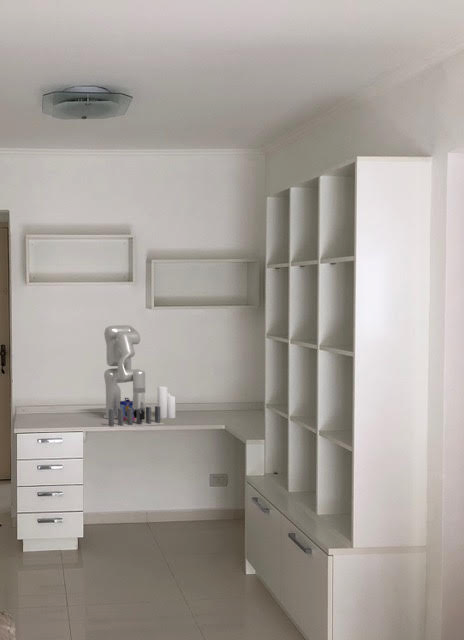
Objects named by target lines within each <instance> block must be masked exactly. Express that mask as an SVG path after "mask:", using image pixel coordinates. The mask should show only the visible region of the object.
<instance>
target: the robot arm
mask: <svg viewBox="0 0 464 640" xmlns="http://www.w3.org/2000/svg"><path fill="white" fill-rule="evenodd" d="M104 340H105V346H106V364H107V366H109V367H113V368H108V369H106V370H105V371H104V374H103V377H104V383H105V384H104V385H105V414H104V415H103V419H109V409H113V410H114V419H118V408H120V401H122V393H121V391H122V390H121V387H120V386H119V385H118V384H122V383H123V384H124V383H129V382H132V401H133V408H134V418H137V410H139V411H140V413H139V416H140V420H142V421H144V420H146V398H145V397H146V395H145V394H146V371H145V370H141V369H140V368H139V369H138V368H135V369H132V358H133V357H134V356H135V354H136V353H135V349H134V345H138V344H140V341H141V336H140V334H139V331H137V330H136V329H135V328H134V327H133V326H131V325H127V324H125V325H108V326H107V327H106V328H105V329H104ZM115 367H116V368H115Z"/></svg>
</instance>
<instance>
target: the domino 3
mask: <svg viewBox="0 0 464 640" xmlns="http://www.w3.org/2000/svg"><path fill="white" fill-rule="evenodd" d="M126 423H127V424H128V425H133V423H134V421H133V409H132V408H127V422H126Z"/></svg>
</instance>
